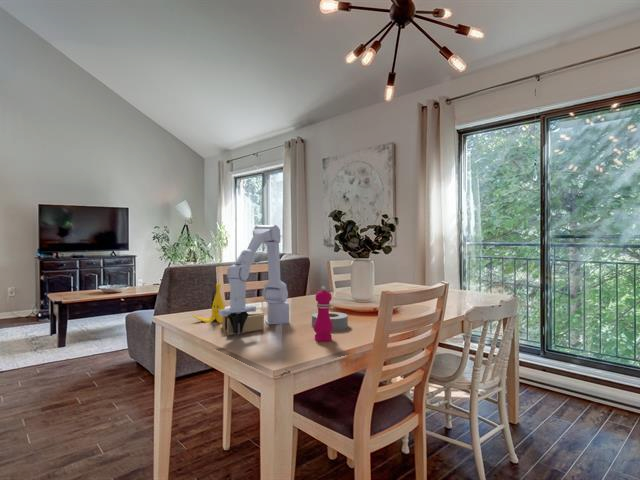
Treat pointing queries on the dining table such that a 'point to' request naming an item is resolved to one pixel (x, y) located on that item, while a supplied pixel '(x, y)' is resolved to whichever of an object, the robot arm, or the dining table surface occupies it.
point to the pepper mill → (323, 316)
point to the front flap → (248, 324)
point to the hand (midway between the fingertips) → (237, 332)
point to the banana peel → (215, 308)
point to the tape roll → (335, 320)
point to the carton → (225, 317)
